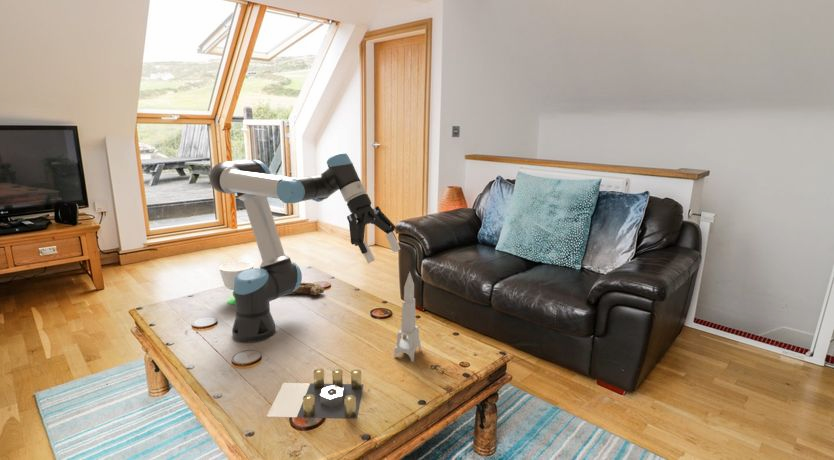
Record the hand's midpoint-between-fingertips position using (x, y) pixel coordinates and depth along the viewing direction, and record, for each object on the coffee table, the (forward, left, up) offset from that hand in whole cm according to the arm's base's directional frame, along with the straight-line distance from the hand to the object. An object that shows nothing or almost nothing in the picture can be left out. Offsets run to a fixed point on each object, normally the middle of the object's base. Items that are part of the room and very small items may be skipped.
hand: (385, 256), depth 147 cm
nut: (-13, -27, -34) cm, 46 cm away
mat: (-17, -27, -35) cm, 48 cm away
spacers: (-12, -27, -35) cm, 46 cm away
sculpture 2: (+8, +1, -35) cm, 36 cm away
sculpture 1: (-41, +54, -36) cm, 76 cm away
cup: (-66, +44, -35) cm, 87 cm away
